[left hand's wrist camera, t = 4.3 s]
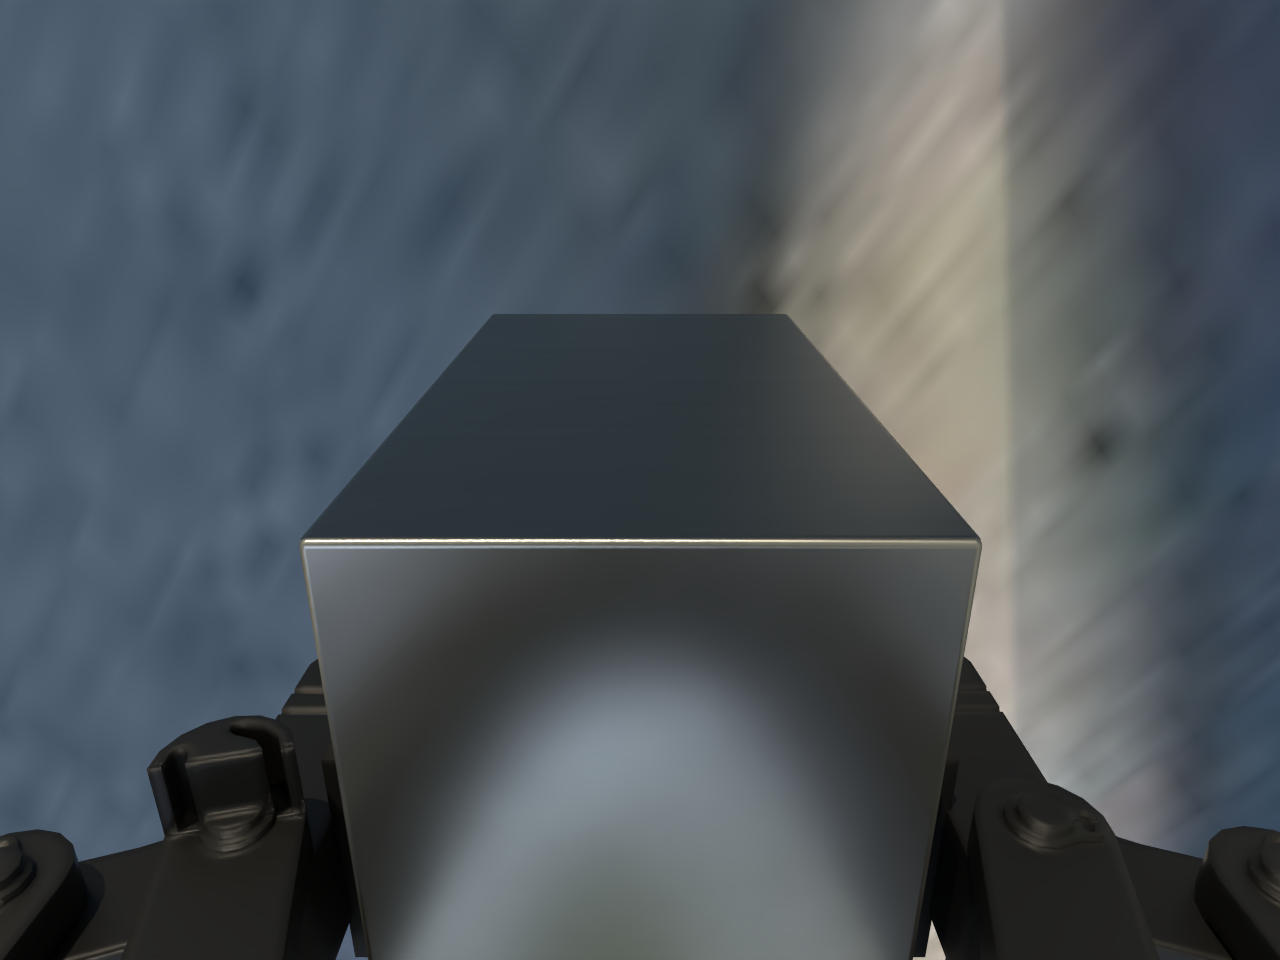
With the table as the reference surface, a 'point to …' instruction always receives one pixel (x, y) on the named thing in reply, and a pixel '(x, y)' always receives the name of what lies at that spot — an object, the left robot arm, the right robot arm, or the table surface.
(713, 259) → the table surface
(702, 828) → the bar
